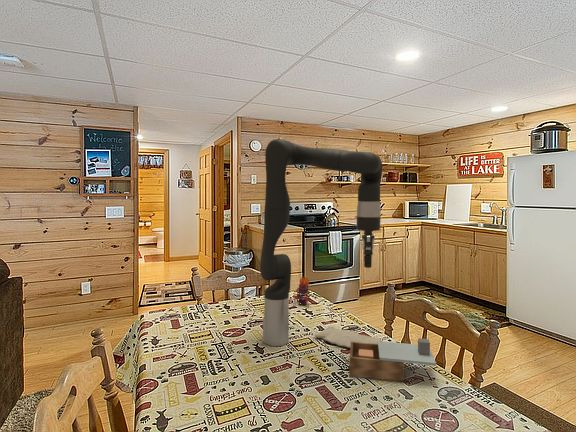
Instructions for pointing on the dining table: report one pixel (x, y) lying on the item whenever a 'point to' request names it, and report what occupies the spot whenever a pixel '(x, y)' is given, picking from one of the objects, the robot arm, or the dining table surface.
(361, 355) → the cube
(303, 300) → the figurine
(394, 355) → the lid
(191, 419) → the dining table surface
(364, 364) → the brown wooden box
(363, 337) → the stone tool
